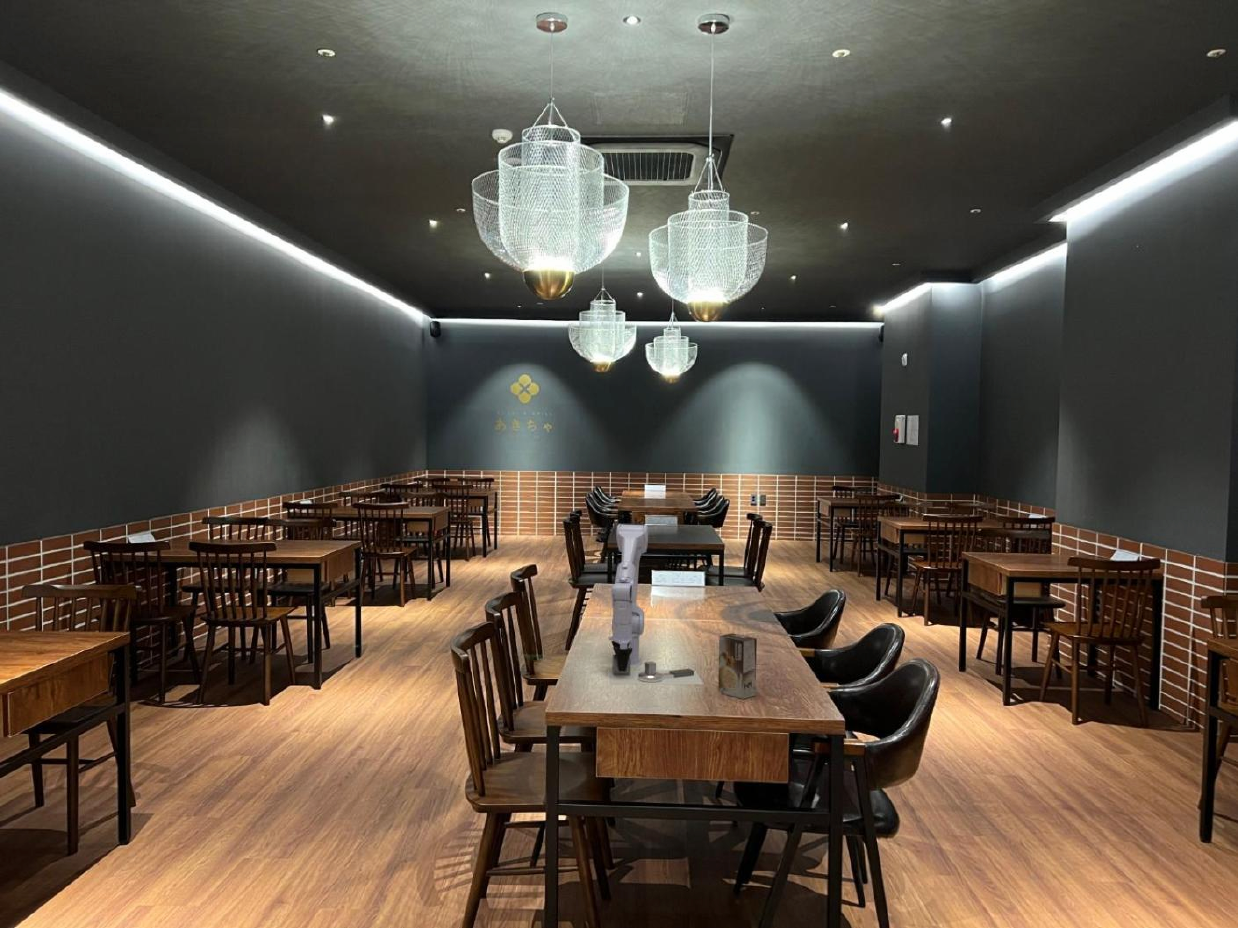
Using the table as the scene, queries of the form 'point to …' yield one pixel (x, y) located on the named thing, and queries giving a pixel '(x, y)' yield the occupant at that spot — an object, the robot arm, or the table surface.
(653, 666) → the ratchet
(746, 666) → the coffee box
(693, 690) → the table surface
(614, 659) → the socket
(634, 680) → the mat
